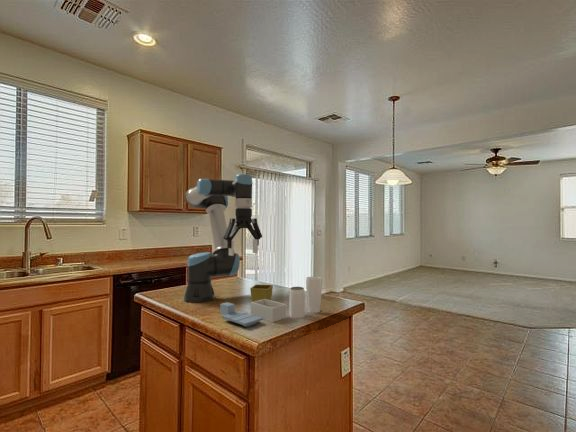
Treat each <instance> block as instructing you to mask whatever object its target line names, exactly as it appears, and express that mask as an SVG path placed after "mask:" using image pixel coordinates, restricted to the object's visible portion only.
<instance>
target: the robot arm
mask: <svg viewBox="0 0 576 432" xmlns="http://www.w3.org/2000/svg"><path fill="white" fill-rule="evenodd" d="M229 197H233V198H235V205H234V206H235V218H229V223H228V225H227V221H226V215H225V212H226V210H227V208H228V206H229ZM184 199H185V201H186V203H187V204H188V205H189V206H190V207H192V208H195V209H205V212H206V213H207V214H208V215H209V222H210V229H211V234H212V240H213V247H214V248H213V249H214V251H212V252H208V251H206V252H197V253H194V254H191V255H189V256H188V259H187V265H186V266H187V286H186V289H185V291H184V295H183V301H184V302H186V301H187V302H186V303H203V302H204V303H205V302H210V301H213V300H214V299H215V291H214V288H213V285H212V278H218V277H230V276H235V275H237V273H238V272H239V270H240V269H239V268H240V261H241V260H240V258H241V257H240V255H239V253H236V252H235V250H234V249H235V248H234V245H235V243H234V240H233V239H234V238H235V236H236V235H237V234H238V232H239V231H240V230H241V229H247V230H248V231H249V233H250V234H251V236H252V237H253V239H252V253H253V254H258V253H259V252H258V246H259V243H260V242H259V240H260V239H261V238H263V234H262V232H261V229H260V226H259V225H258V220H257V218H253V217H252V216H253V209H252V207H253V176H252V175H251V174H249V173H237V174H236V175H235V179H234V180H231V179H230V180H227V179H215V178H214V179H212V178H211V179H210V178H199V179H198V180H197V183H196V186H195V187H191V188H189V189H188V190H186V192H185V195H184Z"/></svg>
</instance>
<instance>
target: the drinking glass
mask: <svg viewBox="0 0 576 432" xmlns="http://www.w3.org/2000/svg"><path fill="white" fill-rule="evenodd" d="M322 281H323V280H322V277H321V276H308V277H306V281H305V286H306V287H305V289H306V298H307V312H308V313H313V314H317V313H320V312H321V301H322V291H323V289H322V288H323V287H322V286H323V283H322Z"/></svg>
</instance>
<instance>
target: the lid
mask: <svg viewBox="0 0 576 432" xmlns="http://www.w3.org/2000/svg"><path fill="white" fill-rule="evenodd" d="M219 305H220V307H219V308H220V309H219V311H220V315H222V316H221V318H222V319H224V320H227V321H228V322H233V323H236V324H239V325H241V326H244V327H245V328H248V327H251V326H254V325H257V323H258V322H261V321H264V320H263V318H262V317H259V316H255V315H252V314H251V313H248V312H244V311H241V310H239V311H235V308H236V307H235V306H236V305H235V304H234V303H232V302H228V301H227V302H223V303H220V304H219Z"/></svg>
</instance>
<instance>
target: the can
mask: <svg viewBox="0 0 576 432" xmlns="http://www.w3.org/2000/svg"><path fill="white" fill-rule="evenodd" d="M304 288H305V287H303V286H292V287H290V289H289V298H288V299H289V302H288V303H289V317H290V318H293V319H302V318H305V317H306V291H305V289H304Z"/></svg>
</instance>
